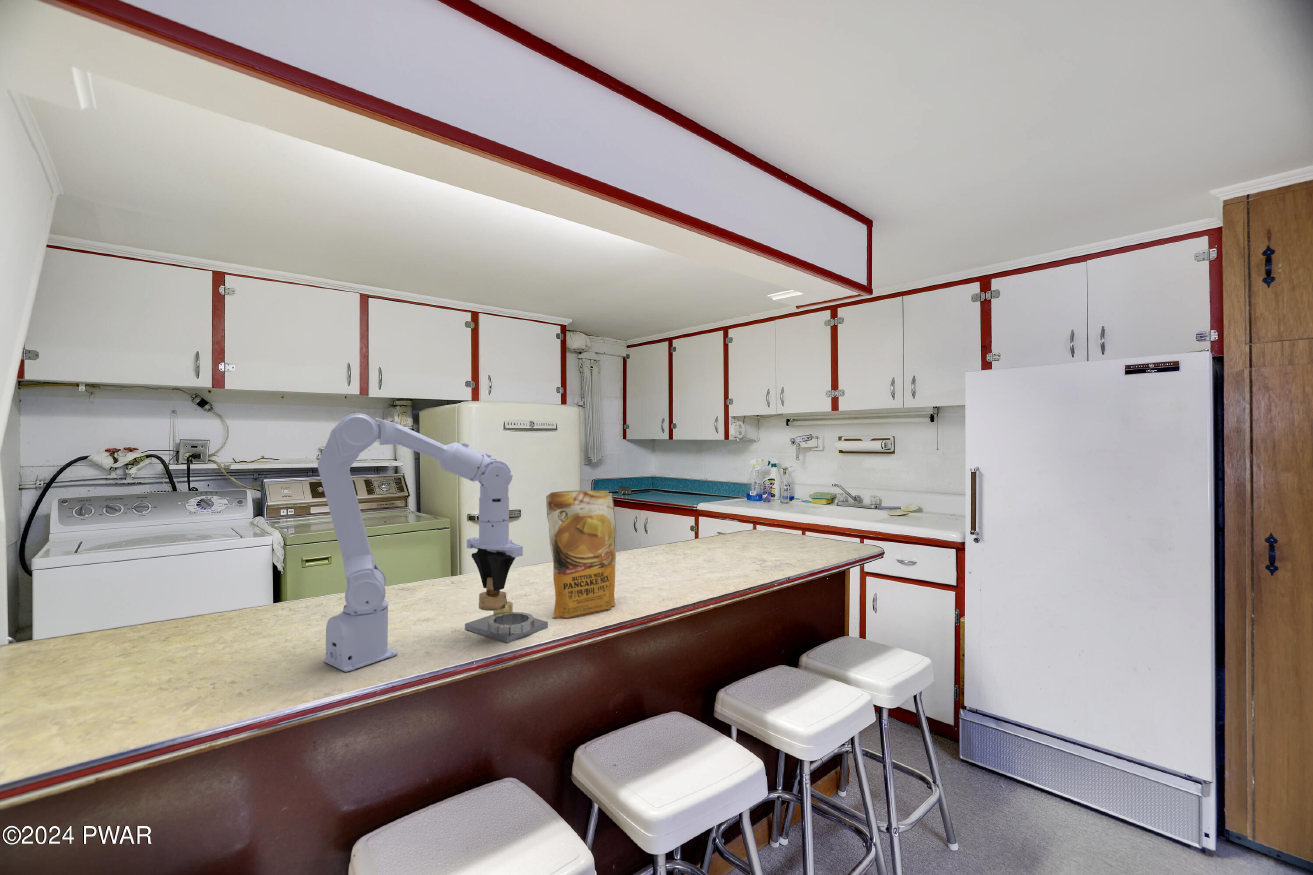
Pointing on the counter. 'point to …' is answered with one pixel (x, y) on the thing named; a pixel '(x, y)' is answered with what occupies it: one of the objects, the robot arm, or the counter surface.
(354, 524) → the robot arm
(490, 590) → the gear
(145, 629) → the counter surface
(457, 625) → the counter surface
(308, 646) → the counter surface
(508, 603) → the carrier
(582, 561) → the pancake mix bag
